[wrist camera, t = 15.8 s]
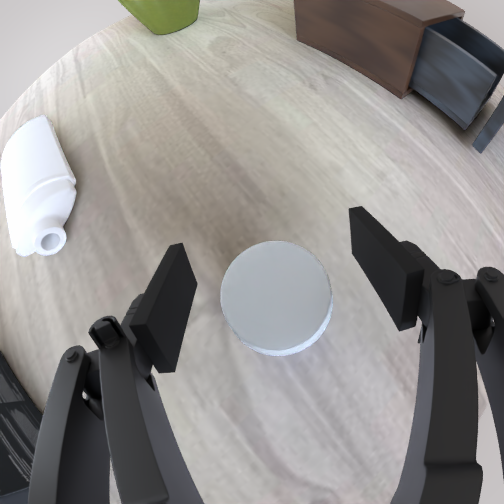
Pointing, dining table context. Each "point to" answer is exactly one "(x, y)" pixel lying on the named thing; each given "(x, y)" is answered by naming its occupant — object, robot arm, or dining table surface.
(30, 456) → the box
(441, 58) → the drawer
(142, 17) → the flower pot
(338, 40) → the cabinet
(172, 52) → the dining table surface
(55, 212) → the squeeze bottle
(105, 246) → the dining table surface
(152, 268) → the dining table surface
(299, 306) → the pill bottle
